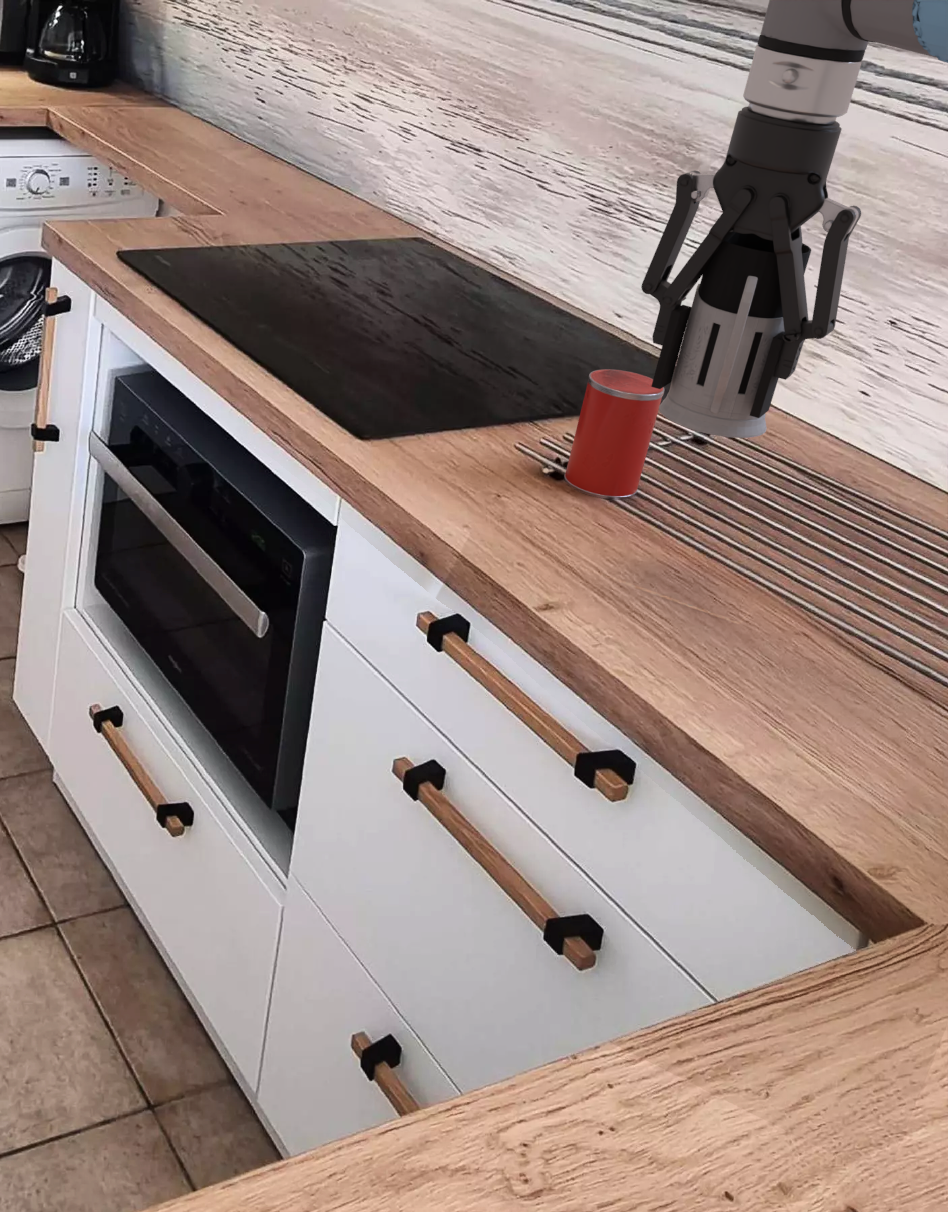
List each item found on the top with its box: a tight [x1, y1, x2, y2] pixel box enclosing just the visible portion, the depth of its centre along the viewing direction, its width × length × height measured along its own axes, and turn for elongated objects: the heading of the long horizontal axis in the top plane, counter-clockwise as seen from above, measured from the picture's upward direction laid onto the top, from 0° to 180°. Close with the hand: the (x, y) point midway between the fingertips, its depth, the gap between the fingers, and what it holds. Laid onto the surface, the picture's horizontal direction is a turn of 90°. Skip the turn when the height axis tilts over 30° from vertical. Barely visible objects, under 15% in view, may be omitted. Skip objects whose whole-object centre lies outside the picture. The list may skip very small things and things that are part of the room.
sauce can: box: [563, 368, 665, 501], centre depth 154 cm, size 7×7×11 cm
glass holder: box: [658, 232, 812, 439], centre depth 127 cm, size 9×14×15 cm, turn 158°
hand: (709, 398), depth 130 cm, fingers closed on glass holder, 7 cm apart
